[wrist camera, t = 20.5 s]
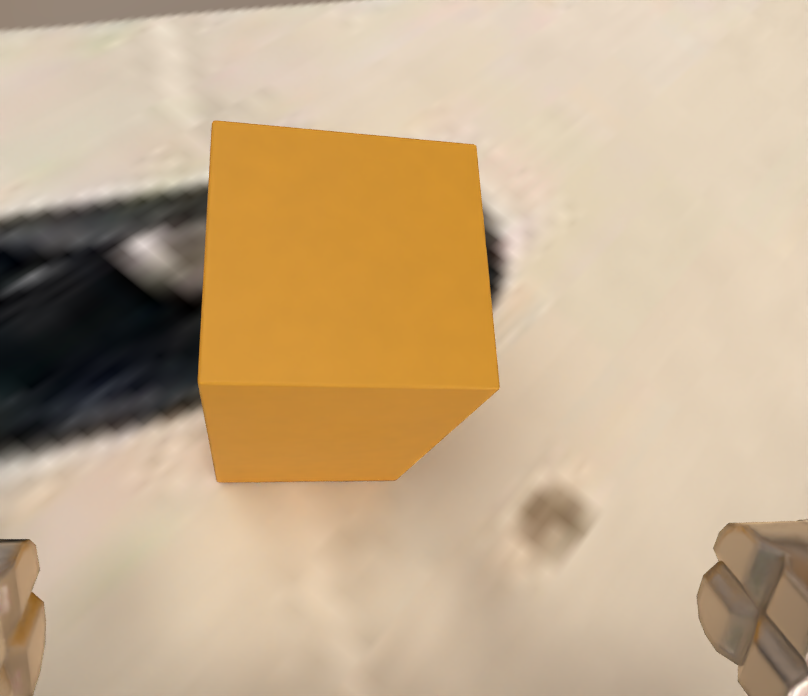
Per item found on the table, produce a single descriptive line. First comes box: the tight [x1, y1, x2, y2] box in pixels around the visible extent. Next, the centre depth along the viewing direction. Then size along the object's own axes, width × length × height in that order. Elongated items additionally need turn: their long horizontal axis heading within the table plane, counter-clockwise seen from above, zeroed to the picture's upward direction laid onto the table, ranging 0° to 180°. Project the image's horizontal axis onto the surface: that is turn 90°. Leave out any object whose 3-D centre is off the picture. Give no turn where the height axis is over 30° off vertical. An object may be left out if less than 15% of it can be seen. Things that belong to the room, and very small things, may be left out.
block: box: [198, 121, 500, 482], centre depth 17 cm, size 5×5×9 cm
